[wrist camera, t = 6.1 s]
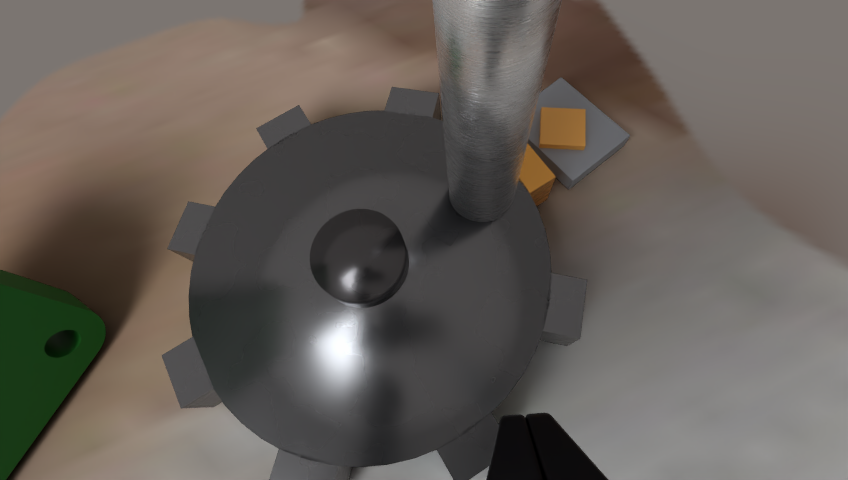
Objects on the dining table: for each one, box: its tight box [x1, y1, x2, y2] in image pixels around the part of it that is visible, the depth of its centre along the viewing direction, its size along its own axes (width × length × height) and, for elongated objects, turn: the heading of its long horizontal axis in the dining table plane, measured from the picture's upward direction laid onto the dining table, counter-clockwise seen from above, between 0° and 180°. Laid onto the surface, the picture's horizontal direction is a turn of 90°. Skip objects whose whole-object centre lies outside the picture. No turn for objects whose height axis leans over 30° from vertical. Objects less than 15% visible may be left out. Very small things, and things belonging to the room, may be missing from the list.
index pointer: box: [528, 77, 630, 189], centre depth 19 cm, size 4×3×1 cm
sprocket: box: [162, 0, 587, 480], centre depth 11 cm, size 15×15×14 cm
